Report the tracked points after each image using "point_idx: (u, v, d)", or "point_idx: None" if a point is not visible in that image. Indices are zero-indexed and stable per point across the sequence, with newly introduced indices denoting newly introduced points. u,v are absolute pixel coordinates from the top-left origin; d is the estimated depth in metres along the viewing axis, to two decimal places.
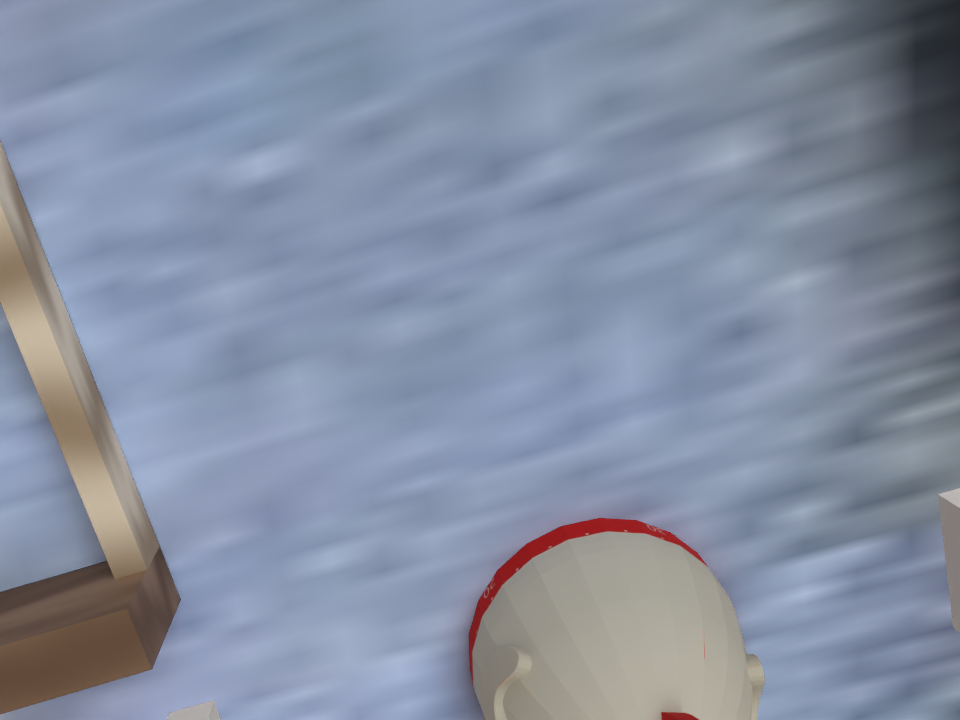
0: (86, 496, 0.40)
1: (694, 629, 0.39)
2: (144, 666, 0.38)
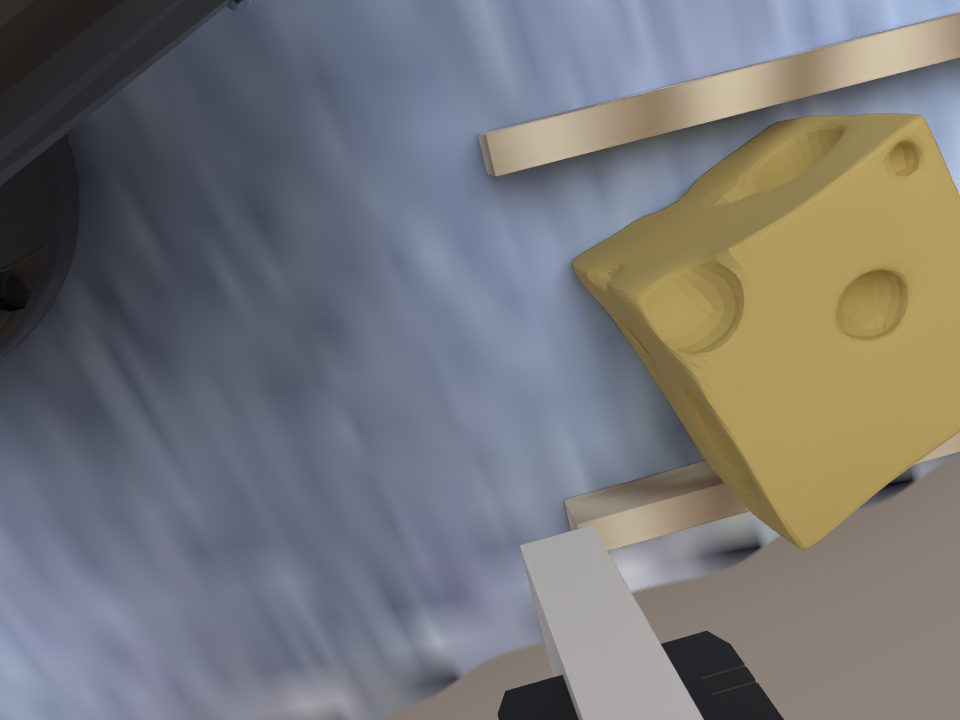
0: None
1: None
2: None
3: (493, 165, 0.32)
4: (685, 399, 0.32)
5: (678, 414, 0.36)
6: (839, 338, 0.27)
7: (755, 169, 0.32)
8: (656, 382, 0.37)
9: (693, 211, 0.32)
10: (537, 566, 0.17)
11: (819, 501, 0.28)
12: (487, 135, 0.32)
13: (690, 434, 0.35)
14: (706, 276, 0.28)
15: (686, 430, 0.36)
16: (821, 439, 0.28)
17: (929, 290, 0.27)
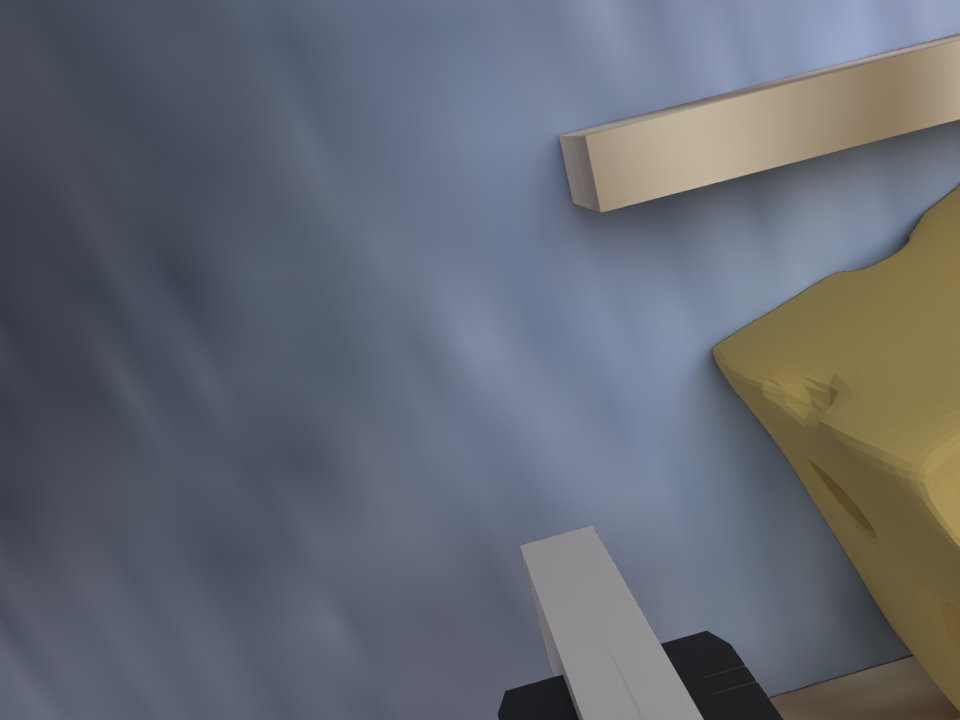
0: None
1: None
2: None
3: (597, 192, 0.17)
4: (940, 613, 0.18)
5: (887, 604, 0.21)
6: None
7: None
8: (843, 544, 0.22)
9: (958, 275, 0.18)
10: (537, 566, 0.17)
11: None
12: (588, 138, 0.17)
13: (913, 642, 0.21)
14: None
15: (896, 626, 0.22)
16: None
17: None
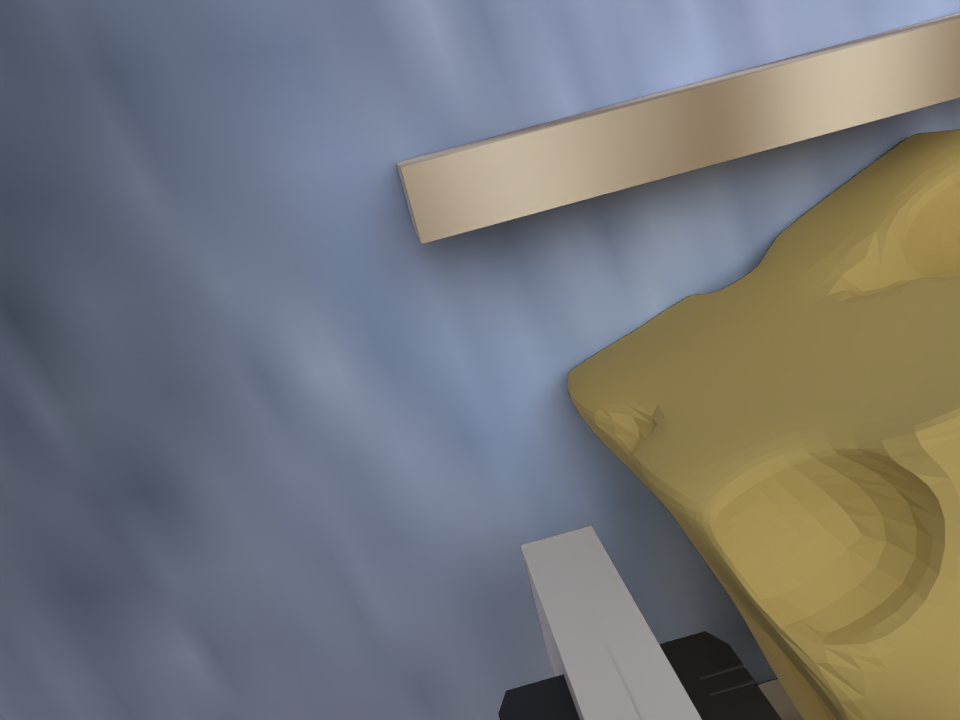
0: None
1: None
2: None
3: (417, 224, 0.17)
4: (776, 643, 0.18)
5: (749, 628, 0.21)
6: None
7: (901, 224, 0.17)
8: None
9: (788, 303, 0.17)
10: (538, 566, 0.17)
11: None
12: (403, 169, 0.17)
13: (771, 667, 0.21)
14: (850, 472, 0.13)
15: None
16: None
17: None
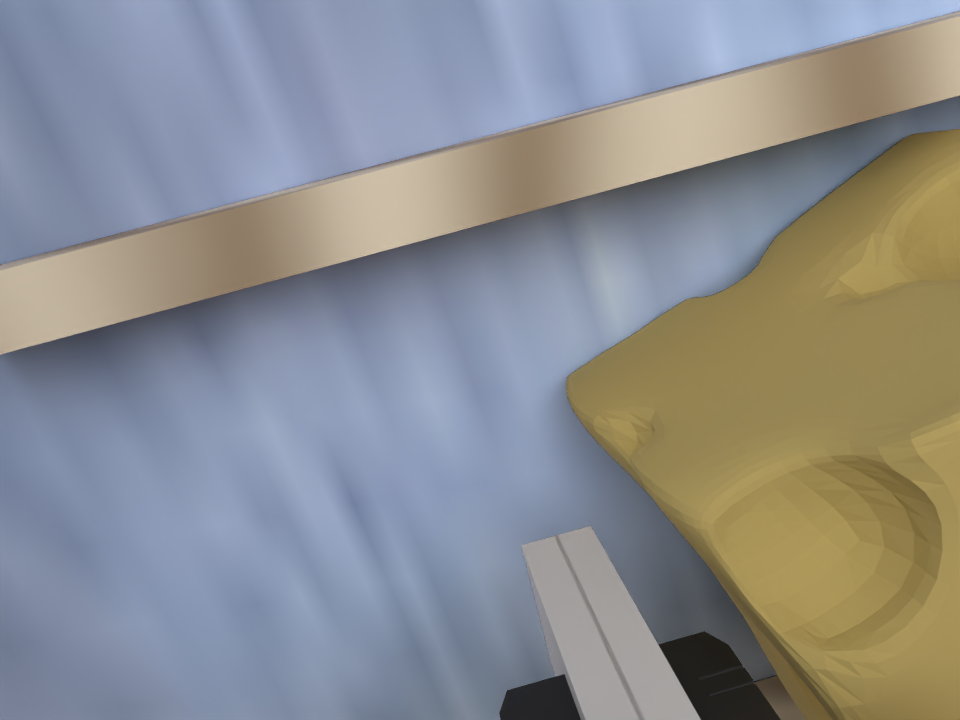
0: None
1: None
2: None
3: None
4: None
5: None
6: None
7: (897, 227, 0.17)
8: None
9: (784, 306, 0.17)
10: (539, 566, 0.17)
11: None
12: None
13: (774, 668, 0.21)
14: (848, 478, 0.13)
15: None
16: None
17: None
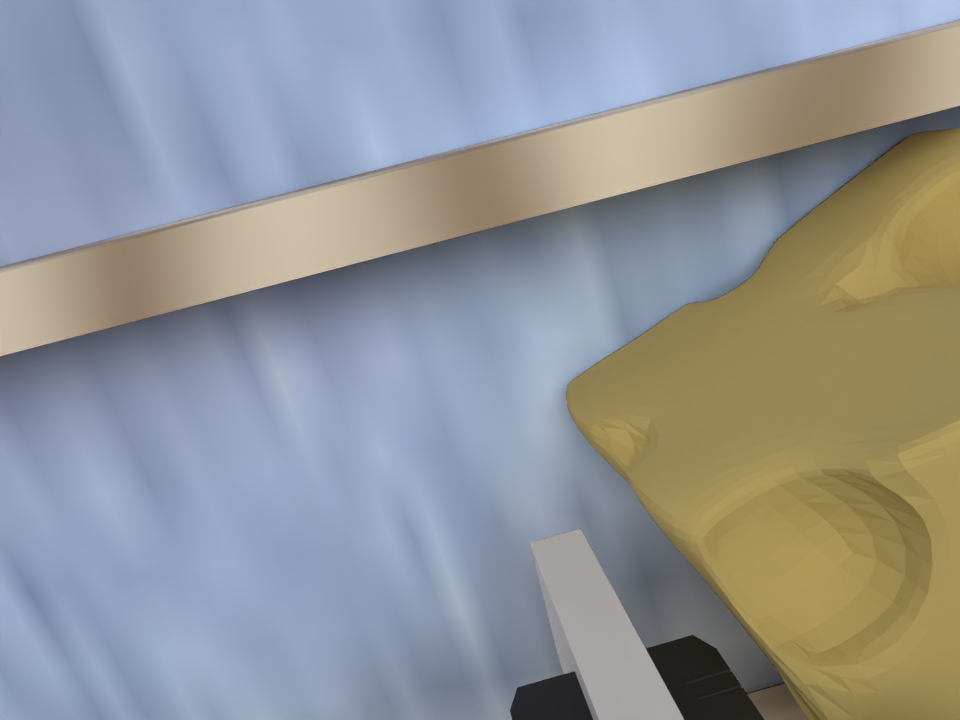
0: None
1: None
2: None
3: None
4: None
5: None
6: None
7: (896, 230, 0.17)
8: None
9: (782, 312, 0.17)
10: (547, 563, 0.17)
11: None
12: None
13: (780, 674, 0.21)
14: (838, 491, 0.13)
15: None
16: None
17: None
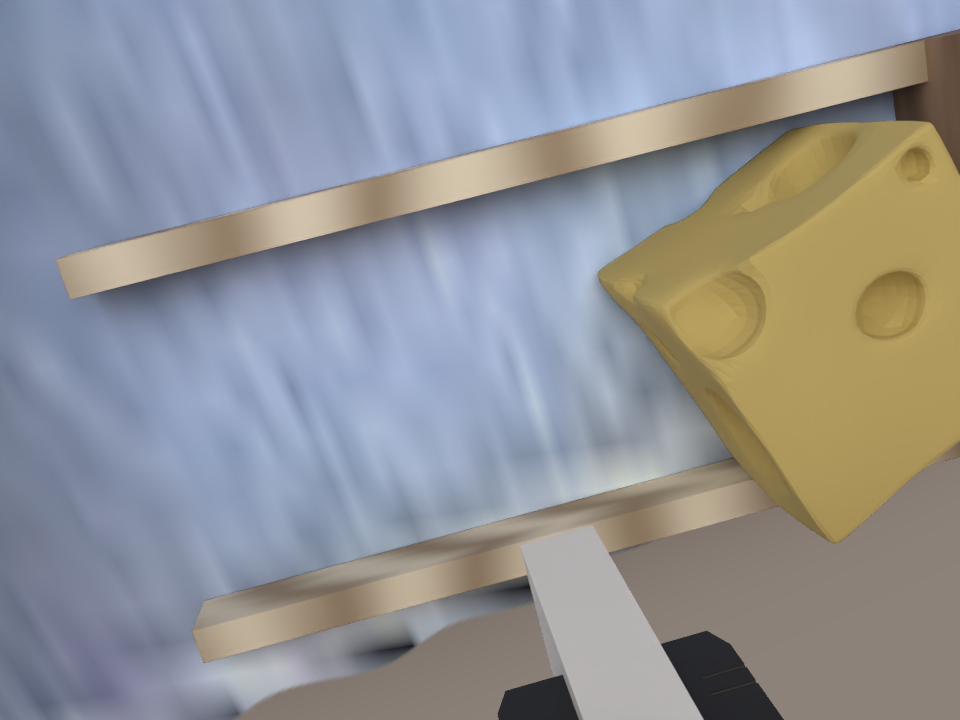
0: (822, 101, 0.34)
1: None
2: None
3: (67, 288, 0.33)
4: (713, 402, 0.34)
5: (707, 416, 0.37)
6: (860, 339, 0.28)
7: (771, 177, 0.33)
8: (684, 385, 0.38)
9: (713, 220, 0.33)
10: (537, 566, 0.17)
11: (847, 496, 0.29)
12: (56, 260, 0.32)
13: (719, 435, 0.36)
14: (729, 284, 0.29)
15: None
16: (846, 436, 0.29)
17: (946, 289, 0.28)
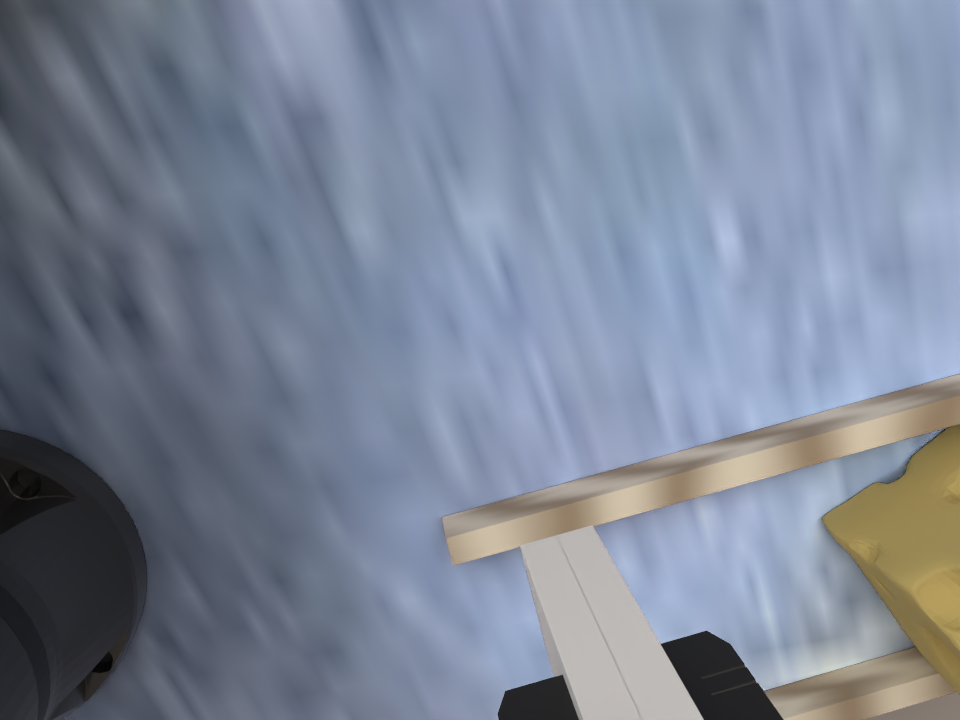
0: None
1: None
2: None
3: (451, 558, 0.44)
4: (924, 632, 0.45)
5: (904, 625, 0.48)
6: None
7: None
8: (883, 599, 0.49)
9: (925, 498, 0.45)
10: (537, 566, 0.17)
11: None
12: (446, 539, 0.43)
13: (915, 642, 0.48)
14: None
15: (908, 635, 0.49)
16: None
17: None
